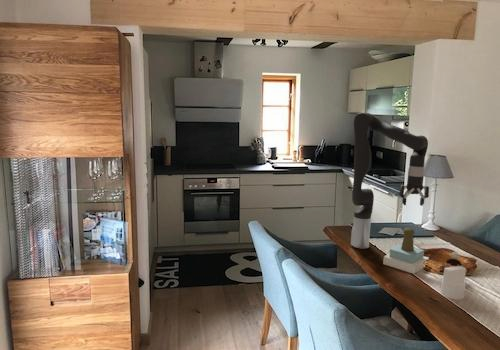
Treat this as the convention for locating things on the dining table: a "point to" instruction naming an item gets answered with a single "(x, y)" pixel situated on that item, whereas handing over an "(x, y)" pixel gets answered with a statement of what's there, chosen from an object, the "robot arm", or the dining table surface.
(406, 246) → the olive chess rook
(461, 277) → the white upright block
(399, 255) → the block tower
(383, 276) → the dining table surface
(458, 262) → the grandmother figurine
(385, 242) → the dining table surface
